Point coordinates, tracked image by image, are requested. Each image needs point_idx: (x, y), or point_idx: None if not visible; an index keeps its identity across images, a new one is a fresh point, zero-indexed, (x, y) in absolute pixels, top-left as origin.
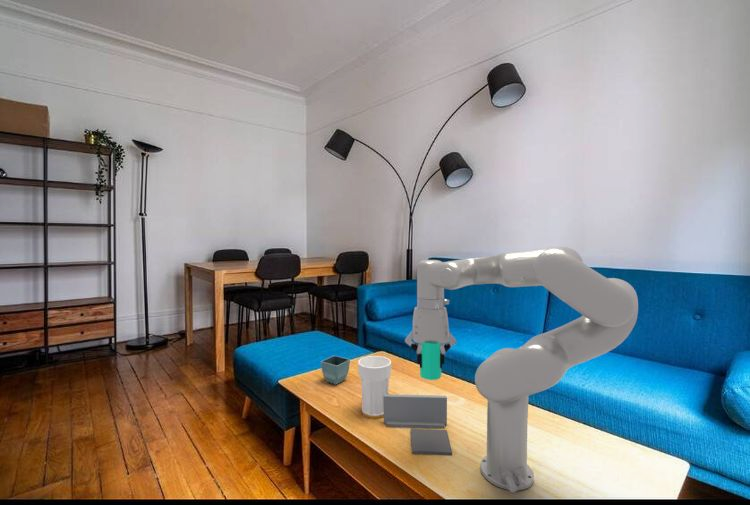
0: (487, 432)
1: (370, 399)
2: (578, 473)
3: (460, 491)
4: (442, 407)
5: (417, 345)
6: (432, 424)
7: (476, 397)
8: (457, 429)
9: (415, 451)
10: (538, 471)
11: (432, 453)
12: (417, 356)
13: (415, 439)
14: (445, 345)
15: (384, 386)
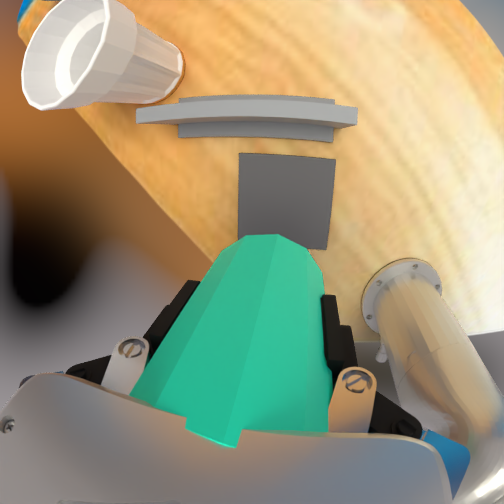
0: (390, 346)
1: (117, 101)
2: (489, 295)
3: None
4: (336, 124)
5: (113, 380)
6: (300, 135)
7: (435, 14)
8: (365, 147)
9: None
10: (449, 292)
11: None
12: None
13: (248, 200)
14: (380, 432)
15: (133, 73)
